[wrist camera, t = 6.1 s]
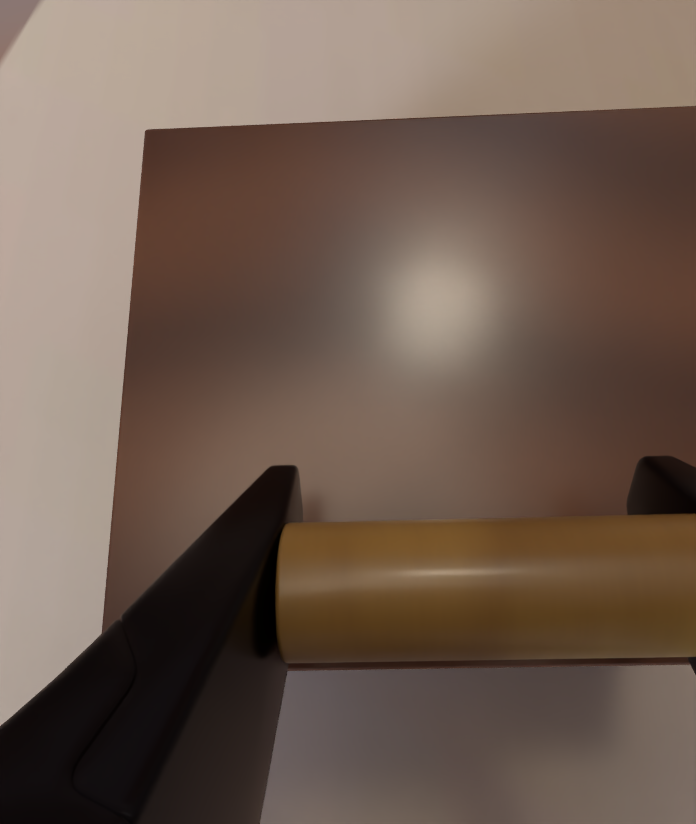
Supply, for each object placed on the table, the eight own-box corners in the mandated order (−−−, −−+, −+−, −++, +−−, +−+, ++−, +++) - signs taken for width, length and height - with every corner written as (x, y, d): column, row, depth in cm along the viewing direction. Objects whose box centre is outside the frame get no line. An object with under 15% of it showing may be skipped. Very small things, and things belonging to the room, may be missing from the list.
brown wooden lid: (807, 656, 10) (1181, 742, 5) (112, 667, 10) (-91, 758, 6) (693, 125, 13) (874, -114, 8) (154, 147, 13) (41, -68, 8)
